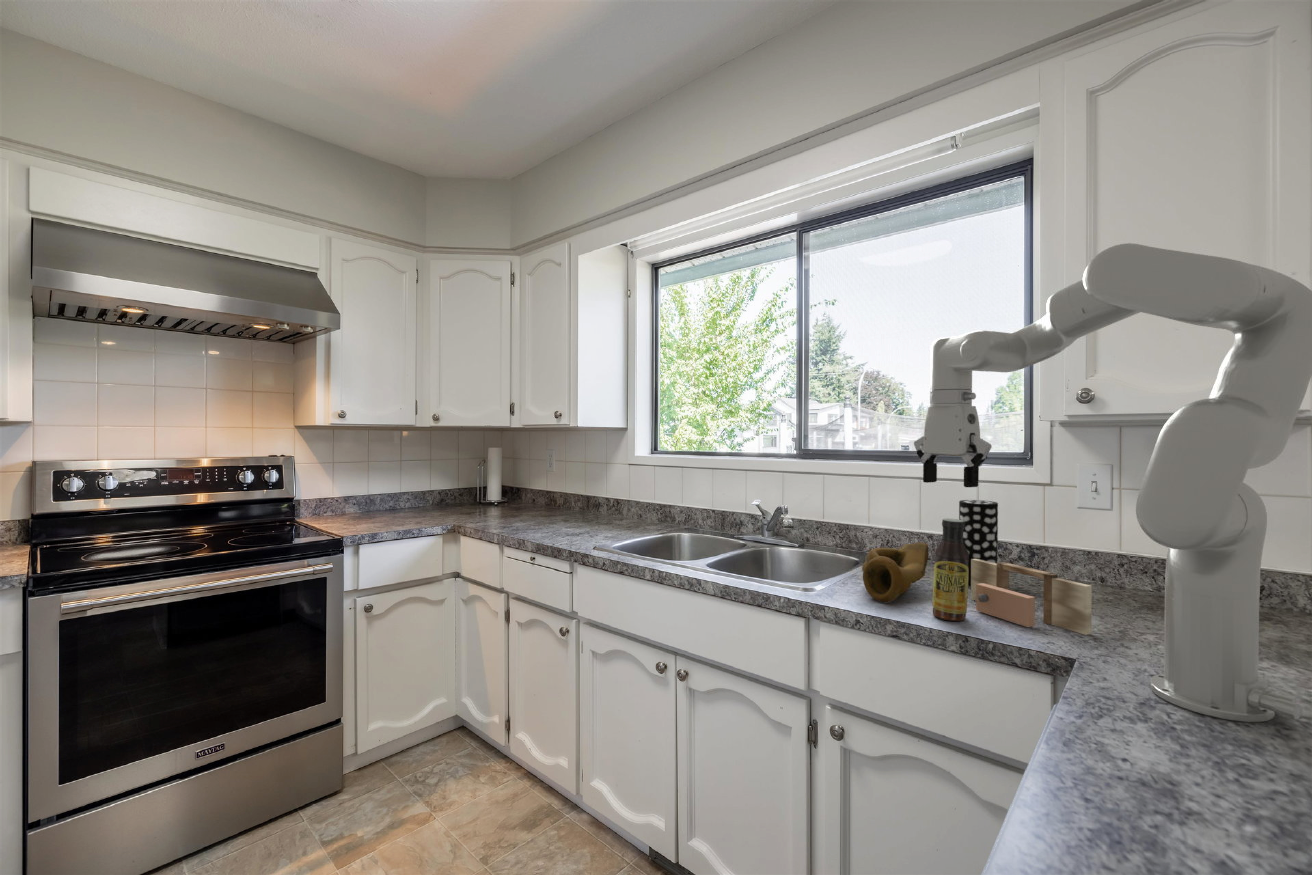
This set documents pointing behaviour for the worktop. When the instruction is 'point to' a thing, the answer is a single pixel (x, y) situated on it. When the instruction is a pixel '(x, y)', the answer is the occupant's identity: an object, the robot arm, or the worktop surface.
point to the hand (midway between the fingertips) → (949, 484)
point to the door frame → (1061, 597)
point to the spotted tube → (980, 530)
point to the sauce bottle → (951, 573)
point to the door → (1005, 604)
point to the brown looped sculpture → (894, 570)
